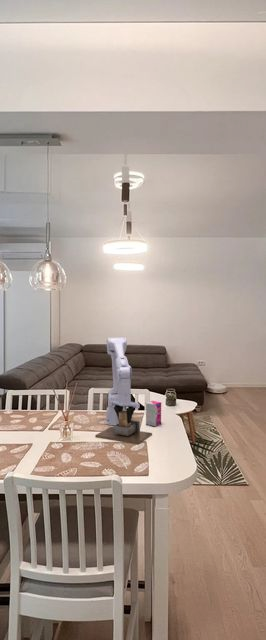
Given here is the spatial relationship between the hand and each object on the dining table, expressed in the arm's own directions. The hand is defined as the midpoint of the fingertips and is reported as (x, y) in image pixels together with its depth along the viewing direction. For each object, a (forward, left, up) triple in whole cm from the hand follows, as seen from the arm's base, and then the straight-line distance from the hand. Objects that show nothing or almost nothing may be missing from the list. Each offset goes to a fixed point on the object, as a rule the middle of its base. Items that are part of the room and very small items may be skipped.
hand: (124, 422), depth 176 cm
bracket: (0, 0, -6) cm, 6 cm away
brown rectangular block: (0, 0, -2) cm, 2 cm away
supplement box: (+5, +21, -6) cm, 23 cm away
